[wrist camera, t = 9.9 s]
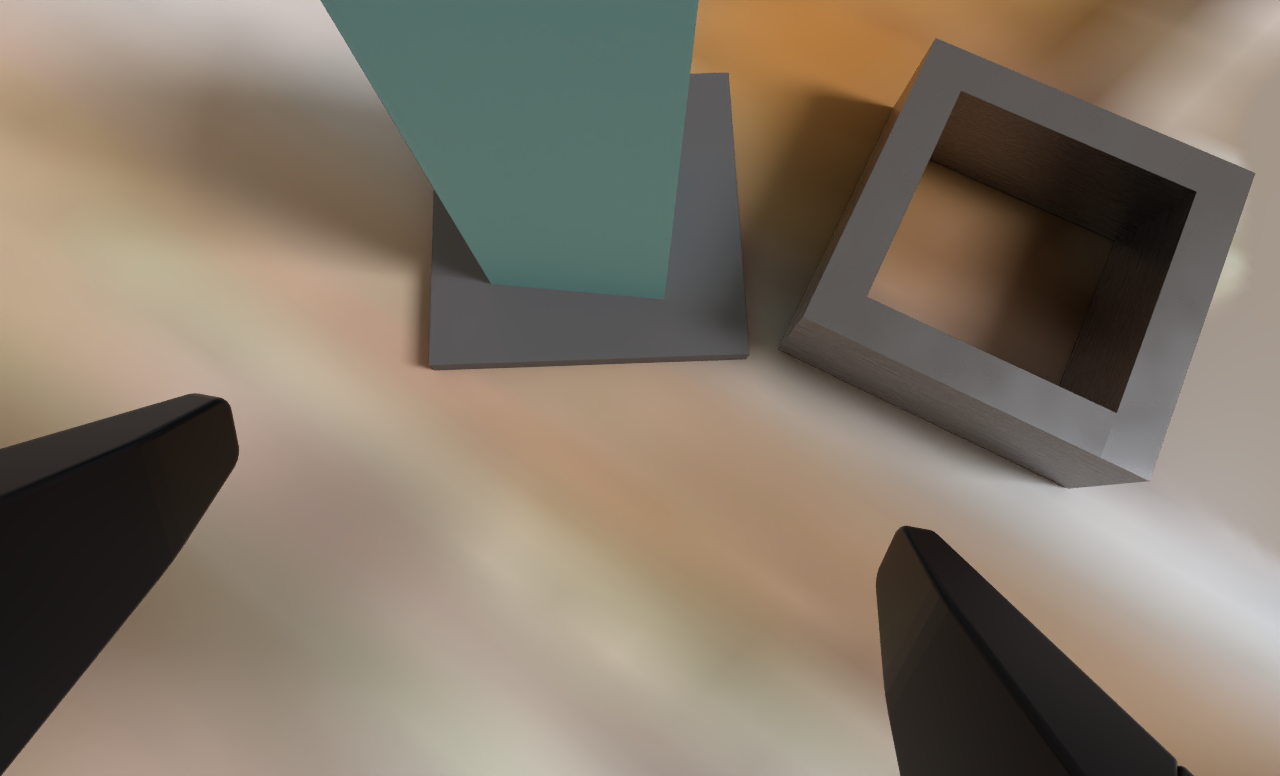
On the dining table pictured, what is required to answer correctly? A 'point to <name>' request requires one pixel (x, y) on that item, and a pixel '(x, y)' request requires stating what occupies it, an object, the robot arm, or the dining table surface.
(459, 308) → the dark grey pad
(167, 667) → the dining table surface
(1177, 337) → the grey holder
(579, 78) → the teal block
